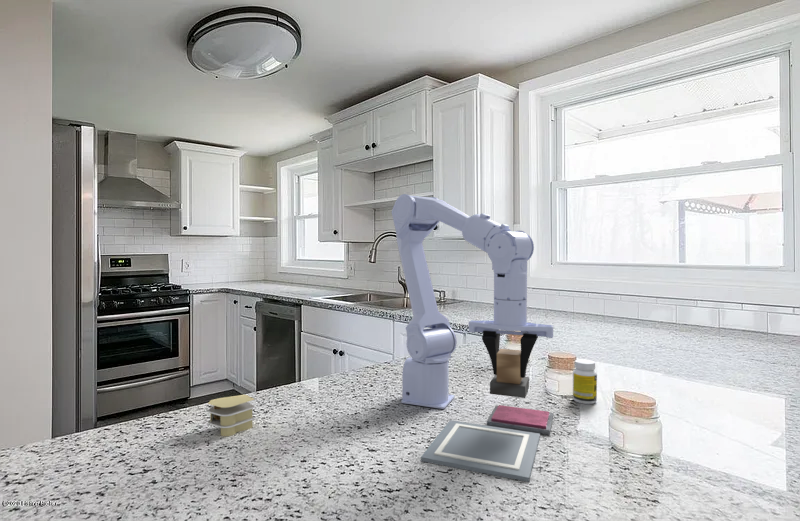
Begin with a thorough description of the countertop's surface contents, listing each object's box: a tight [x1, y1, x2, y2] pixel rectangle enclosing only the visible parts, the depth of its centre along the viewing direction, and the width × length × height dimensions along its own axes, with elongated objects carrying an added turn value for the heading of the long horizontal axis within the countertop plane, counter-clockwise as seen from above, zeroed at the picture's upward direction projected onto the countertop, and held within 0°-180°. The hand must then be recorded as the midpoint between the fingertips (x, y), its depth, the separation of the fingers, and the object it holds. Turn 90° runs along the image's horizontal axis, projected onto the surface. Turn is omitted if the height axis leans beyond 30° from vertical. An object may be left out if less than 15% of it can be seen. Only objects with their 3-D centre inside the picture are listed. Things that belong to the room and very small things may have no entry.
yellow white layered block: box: [207, 394, 256, 437], centre depth 80 cm, size 10×9×6 cm
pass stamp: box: [489, 348, 530, 399], centre depth 80 cm, size 6×6×7 cm
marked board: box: [420, 419, 541, 483], centre depth 73 cm, size 16×16×1 cm
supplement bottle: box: [572, 358, 598, 405], centre depth 95 cm, size 5×5×8 cm
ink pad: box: [486, 404, 554, 436], centre depth 84 cm, size 11×9×1 cm
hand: (509, 374), depth 80 cm, fingers closed on pass stamp, 4 cm apart
